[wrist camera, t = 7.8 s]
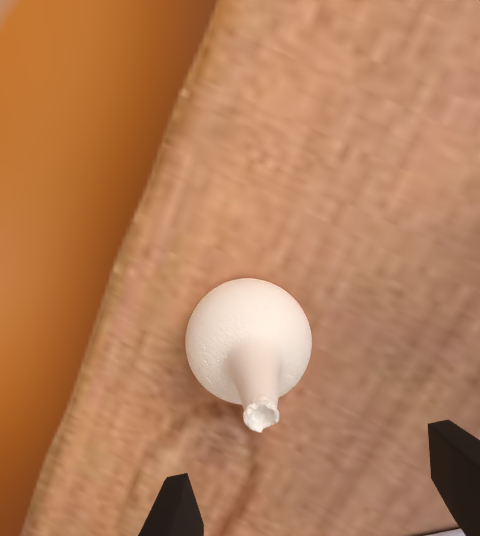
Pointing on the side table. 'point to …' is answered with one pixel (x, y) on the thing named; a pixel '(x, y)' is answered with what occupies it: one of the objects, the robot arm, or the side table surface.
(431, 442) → the robot arm
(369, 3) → the side table surface
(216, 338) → the garlic bulb
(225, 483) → the side table surface
